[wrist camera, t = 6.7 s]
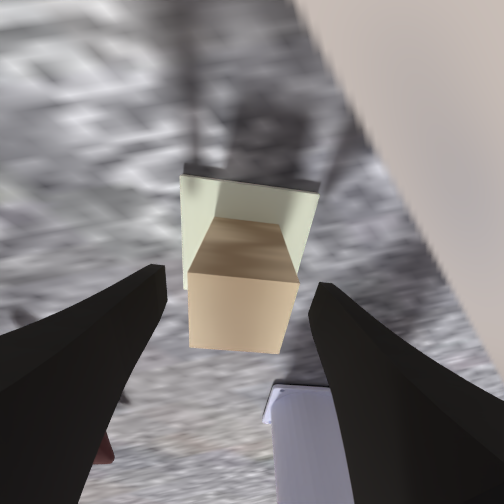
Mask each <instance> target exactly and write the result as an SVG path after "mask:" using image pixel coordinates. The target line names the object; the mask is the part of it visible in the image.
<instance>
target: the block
mask: <svg viewBox="0 0 504 504" xmlns="http://www.w3.org/2000/svg"><path fill="white" fill-rule="evenodd" d="M187 278H188V312H189V346H190V347H191V348H204V349H218V350H231V351H245V352H258V353H272V354H279V352H280V348H281V345H282V342H283V338H284V335H285V332H286V328H287V325H288V322H289V318H290V315H291V312H292V308H293V305H294V302H295V298H296V295H297V291H298V288H299V285H300V283H299V280H298V277H297V274H296V271H295V268H294V266H293V263H292V260H291V257H290V254H289V251H288V249H287V246H286V243H285V240H284V237H283V235H282V232H281V229H280V226H279V224H272V223H263V222H255V221H246V220H238V219H230V218H221V217H214V218H213V220H212V222H211V224H210V227H209V229H208V231H207V233H206V235H205V237H204V239H203V241H202V243H201V245H200V247H199V249H198V251H197V253H196V256H195V258H194V260H193V262H192V264H191V266H190V268H189V270H188V272H187Z"/></svg>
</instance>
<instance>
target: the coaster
mask: <svg viewBox="0 0 504 504" xmlns="http://www.w3.org/2000/svg"><path fill="white" fill-rule="evenodd" d="M319 196H320V194H318V193H317V192H309V191H302V190H295V189H287V188H280V187H273V186H266V185H258V184H251V183H244V182H237V181H229V180H222V179H215V178H207V177H200V176H193V175H186V174H182V175H180V198H181V227H182V256H183V285H184V289H185V290H188V278H187V272H188V270H189V268H190V266H191V264H192V262H193V260H194V258H195V256H196V253H197V251H198V249H199V247H200V245H201V243H202V241H203V239H204V237H205V235H206V233H207V231H208V229H209V227H210V224H211V222H212V220H213V218H214V217H221V218H230V219H238V220H246V221H255V222H263V223H272V224H279V226H280V229H281V232H282V235H283V237H284V240H285V243H286V246H287V249H288V251H289V254H290V257H291V260H292V263H293V266H294V268H295V271H296V274H297V272H298V269H299V265H300V262H301V259H302V255H303V252H304V248H305V245H306V241H307V238H308V234H309V231H310V227H311V224H312V220H313V217H314V214H315V210H316V207H317V203H318V200H319Z"/></svg>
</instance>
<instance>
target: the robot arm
mask: <svg viewBox="0 0 504 504" xmlns="http://www.w3.org/2000/svg"><path fill="white" fill-rule="evenodd" d="M167 301H168V299H167V287H166V274H165V265H156V264H150V265H148V266H146V267H144V268H142V269H140V270H139V271H137V272H135V273H133V274H132V275H130V276H128V277H126V278H124V279H123V280H121V281H119V282H117V283H115V284H114V285H112V286H110V287H108V288H106V289H105V290H103V291H101V292H99V293H97V294H95V295H93V296H91V297H89V298H87V299H85V300H83V301H81V302H79V303H77V304H75V305H73V306H71V307H69V308H66V309H64V310H62V311H60V312H58V313H55V314H53V315H51V316H48V317H46V318H44V319H41V320H39V321H37V322H34V323H32V324H29V325H27V326H24V327H21V328H19V329H16V330H14V331H11V332H8V333H6V334H3V335H0V504H78V502H79V499H80V496H81V493H82V491H83V488H84V485H85V483H86V480H87V477H88V475H89V472H90V470H91V467H92V465H93V462H94V459H95V457H96V454H97V452H98V449H99V447H100V444H101V442H102V439H103V437H104V434H105V432H106V430H107V427H108V425H109V422H110V420H111V417H112V415H113V413H114V410H115V408H116V406H117V403H118V401H119V399H120V396H121V394H122V392H123V390H124V387H125V385H126V383H127V381H128V379H129V377H130V375H131V373H132V371H133V369H134V367H135V365H136V363H137V361H138V359H139V358H140V356H141V354H142V352H143V350H144V349H145V347H146V345H147V343H148V341H149V339H150V338H151V336H152V334H153V332H154V330H155V328H156V327H157V325H158V323H159V321H160V319H161V316H162V314H163V311H164V309H165V306H166V303H167ZM308 316H309V322H310V327H311V332H312V336H313V339H314V342H315V345H316V348H317V351H318V354H319V357H320V360H321V363H322V366H323V369H324V372H325V375H326V377H327V380H328V383H329V387H330V388H327V387H312V386H297V385H282V384H275V385H273V387H272V390H271V393H270V396H269V399H268V402H267V405H266V409H265V412H264V415H263V418H262V421H263V423H265V424H271V426H272V439H273V453H274V466H275V479H276V492H277V504H504V401H503V400H501V399H499V398H497V397H495V396H493V395H491V394H490V393H488V392H486V391H484V390H483V389H481V388H479V387H477V386H476V385H474V384H472V383H470V382H469V381H467V380H465V379H463V378H462V377H460V376H458V375H457V374H455V373H454V372H452V371H450V370H449V369H447V368H445V367H444V366H442V365H440V364H439V363H437V362H436V361H434V360H432V359H431V358H429V357H428V356H426V355H425V354H423V353H422V352H420V351H419V350H417V349H416V348H414V347H413V346H411V345H410V344H408V343H407V342H406V341H404V340H403V339H401V338H400V337H399V336H397V335H396V334H395V333H393V332H392V331H391V330H389V329H388V328H387V327H385V326H384V325H383V324H381V323H380V322H379V321H378V320H376V319H375V318H374V317H373V316H371V315H370V314H369V313H368V312H366V311H365V310H364V309H363V308H362V307H360V306H359V305H358V304H357V303H356V302H354V301H353V300H352V299H351V298H350V297H348V296H347V295H346V294H345V293H344V292H342V291H341V290H340V289H339V288H338V287H336V286H335V285H333V284H332V283H324V282H319V285H318V287H317V290H316V293H315V296H314V299H313V301H312V304H311V307H310V310H309V313H308Z"/></svg>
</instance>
